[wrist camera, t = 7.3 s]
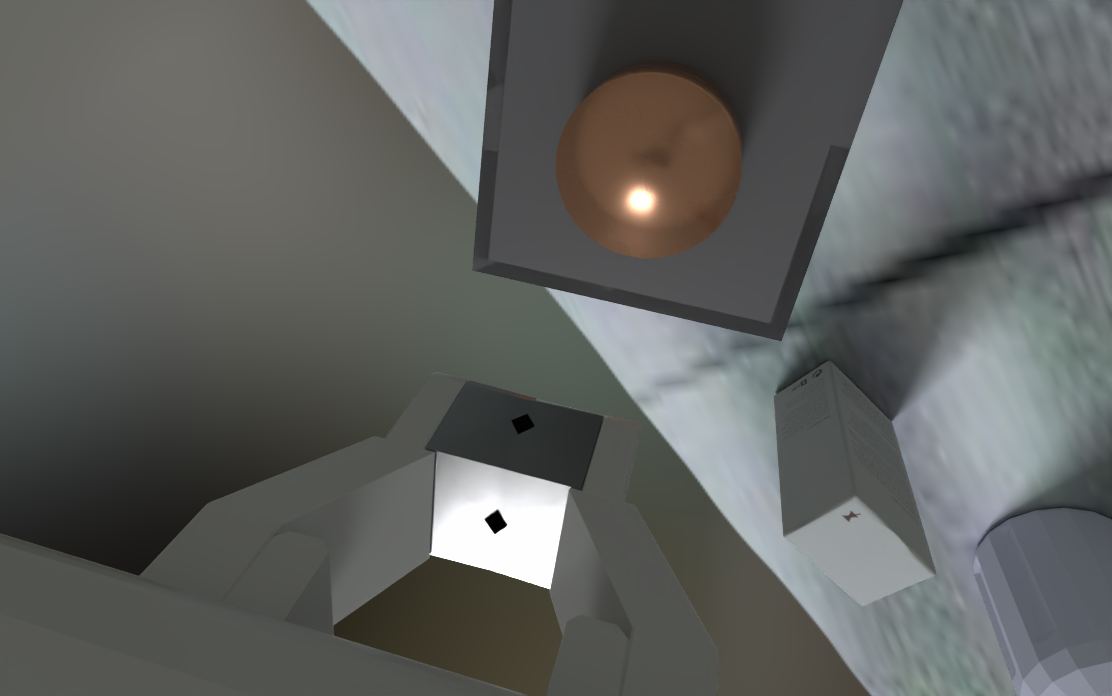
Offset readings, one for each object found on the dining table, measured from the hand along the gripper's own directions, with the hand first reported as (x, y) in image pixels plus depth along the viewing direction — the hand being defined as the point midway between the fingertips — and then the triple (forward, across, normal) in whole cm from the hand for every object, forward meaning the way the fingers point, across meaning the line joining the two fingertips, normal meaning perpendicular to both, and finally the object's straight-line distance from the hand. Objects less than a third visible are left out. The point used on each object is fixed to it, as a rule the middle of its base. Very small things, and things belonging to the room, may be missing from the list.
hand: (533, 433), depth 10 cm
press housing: (+30, 0, 0) cm, 30 cm away
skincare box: (+30, -13, +18) cm, 37 cm away
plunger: (+28, 0, +1) cm, 29 cm away
